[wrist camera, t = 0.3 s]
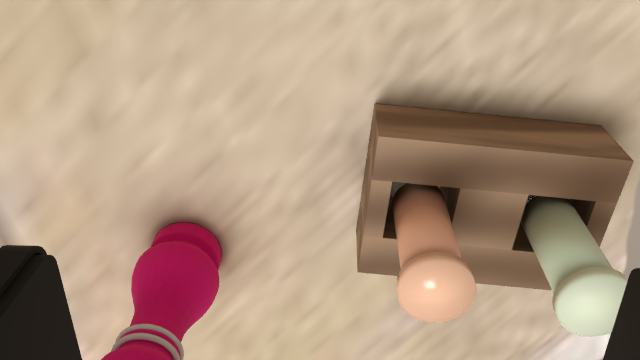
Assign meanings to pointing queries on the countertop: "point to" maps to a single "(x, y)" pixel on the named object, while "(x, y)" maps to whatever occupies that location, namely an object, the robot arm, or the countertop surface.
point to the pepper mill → (169, 293)
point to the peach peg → (429, 256)
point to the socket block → (485, 184)
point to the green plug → (573, 267)
